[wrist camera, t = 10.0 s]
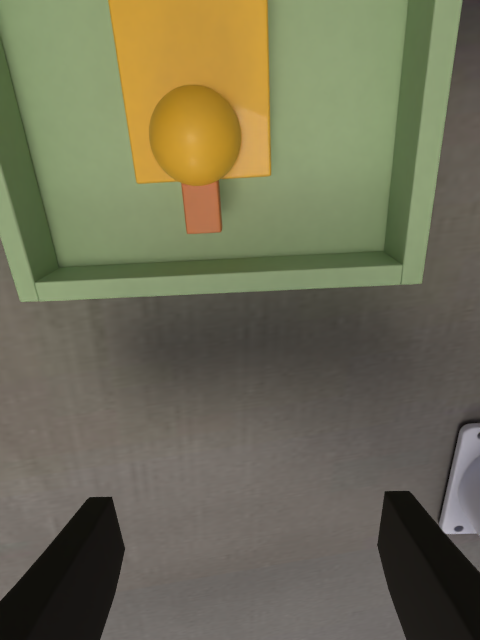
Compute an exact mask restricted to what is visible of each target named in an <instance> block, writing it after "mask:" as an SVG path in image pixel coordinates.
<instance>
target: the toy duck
mask: <svg viewBox="0 0 480 640" xmlns="http://www.w3.org/2000/svg"><path fill="white" fill-rule="evenodd" d="M108 3H109V10H110V16H111V23H112V29H113V36H114V42H115V49H116V55H117V62H118V68H119V74H120V81H121V87H122V94H123V100H124V107H125V113H126V120H127V126H128V132H129V139H130V145H131V152H132V158H133V165H134V171H135V178H136V182H137V183H138V184H146V183H163V182H180V183H181V187H182V196H183V205H184V214H185V223H186V232H187V234H201V233H220V232H221V231H222V215H221V201H220V187H219V180H220V179H233V178H250V177H267V176H271V134H270V86H269V37H268V0H108Z"/></svg>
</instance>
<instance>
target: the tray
mask: <svg viewBox="0 0 480 640" xmlns="http://www.w3.org/2000/svg"><path fill="white" fill-rule="evenodd" d="M461 7H462V0H268V37H269V86H270V134H271V176H267V177H250V178H233V179H220V180H219V187H220V201H221V215H222V231H221V232H220V233H201V234H187V232H186V223H185V214H184V205H183V196H182V187H181V183H180V182H163V183H146V184H138V183H137V182H136V178H135V171H134V165H133V158H132V152H131V145H130V139H129V132H128V126H127V120H126V113H125V107H124V100H123V94H122V87H121V81H120V74H119V68H118V62H117V55H116V49H115V42H114V36H113V29H112V23H111V16H110V10H109V3H108V0H0V237H1V241H2V244H3V247H4V250H5V254H6V257H7V260H8V263H9V267H10V270H11V273H12V276H13V280H14V283H15V286H16V290H17V293H18V296H19V299H20V301H21V302H31V301H60V300H81V299H103V298H124V297H146V296H168V295H189V294H211V293H232V292H254V291H275V290H297V289H318V288H340V287H362V286H383V285H400V284H401V285H405V284H421V283H422V279H423V272H424V265H425V258H426V251H427V244H428V237H429V230H430V223H431V216H432V209H433V202H434V195H435V188H436V181H437V174H438V167H439V160H440V153H441V146H442V139H443V132H444V125H445V118H446V111H447V104H448V97H449V90H450V83H451V76H452V70H453V63H454V56H455V49H456V42H457V35H458V28H459V21H460V14H461Z"/></svg>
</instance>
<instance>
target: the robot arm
mask: <svg viewBox="0 0 480 640" xmlns="http://www.w3.org/2000/svg"><path fill="white" fill-rule="evenodd" d="M478 433H480V423H470V424H466V425H464V426H463V427H462V428H461V429H460V431H459V436H458V440H457V445H456V449H455V454H454V459H453V463H452V468H451V472H450V477H449V481H448V486H447V490H446V495H445V499H444V504H443V508H442V513H441V517H440V522H439V526H438V525H437V523H436V522H435V521H434V520H433V519H432V517H431V516H430V515H429V514H428V513H427V511H426V510H425V509H424V508H423V507H422V505H421V504H420V503H419V502H418V500H417V499H416V498H415V497H414V496H413V494H412V493H410V492H409V491H385V495H384V502H383V509H382V516H381V523H380V530H379V537H378V544H377V546H378V550H379V554H380V558H381V562H382V566H383V570H384V574H385V578H386V581H387V585H388V589H389V592H390V595H391V598H392V601H393V603H394V606H395V609H396V612H397V615H398V617H399V620H400V623H401V626H402V629H403V631H404V634H405V637H406V640H480V572H479V571H478V570H477V569H476V568H475V567H474V566H473V565H472V563H471V562H470V561H469V560H468V559H467V558H466V557H465V556H464V555H463V554H462V552H461V551H460V550H459V549H458V548H457V547H456V546H455V544H454V543H453V542H452V541H451V540H450V539H449V537H448V536H447V535H446V534H474V533H477V534H478V535H479V537H480V434H478ZM124 551H125V547H124V543H123V539H122V535H121V531H120V527H119V523H118V519H117V515H116V511H115V507H114V503H113V499H112V497H89V498H88V499H87V500H86V502H85V503H84V504H83V505H82V506H81V508H80V509H79V510H78V511H77V512H76V514H75V515H74V516H73V517H72V519H71V520H70V521H69V522H68V523H67V525H66V526H65V527H64V528H63V530H62V531H61V532H60V533H59V534H58V536H57V537H56V538H55V539H54V540H53V542H52V543H51V544H50V545H49V546H48V548H47V549H46V550H45V551H44V552H43V553H42V555H41V556H40V557H39V558H38V559H37V560H36V562H35V563H34V564H33V565H32V566H31V567H30V569H29V570H28V571H27V572H26V573H25V574H24V575H23V577H22V578H21V579H20V580H19V581H18V582H17V583H16V585H15V586H14V587H13V588H12V589H11V590H10V591H9V592H8V593H7V594H6V596H5V597H4V598H3V599H2V600H1V601H0V640H100V638H101V635H102V632H103V629H104V626H105V623H106V620H107V617H108V614H109V611H110V608H111V605H112V602H113V598H114V595H115V592H116V587H117V583H118V579H119V575H120V570H121V565H122V561H123V556H124Z"/></svg>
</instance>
